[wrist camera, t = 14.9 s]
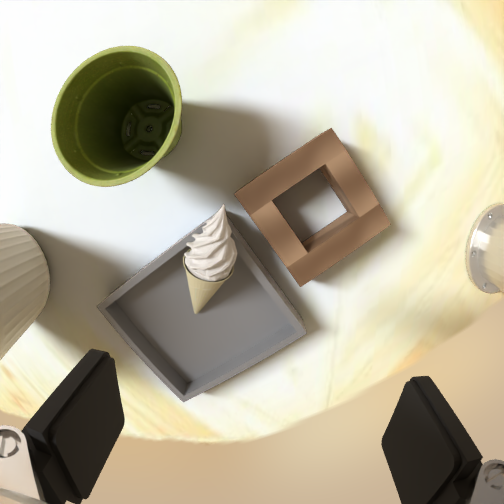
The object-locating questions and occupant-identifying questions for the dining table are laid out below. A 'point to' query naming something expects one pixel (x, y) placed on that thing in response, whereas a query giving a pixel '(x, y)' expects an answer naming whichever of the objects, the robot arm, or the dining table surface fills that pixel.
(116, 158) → the plant pot
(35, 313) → the canister
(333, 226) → the cone stand
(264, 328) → the grey tray
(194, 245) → the ice cream cone
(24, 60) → the dining table surface
